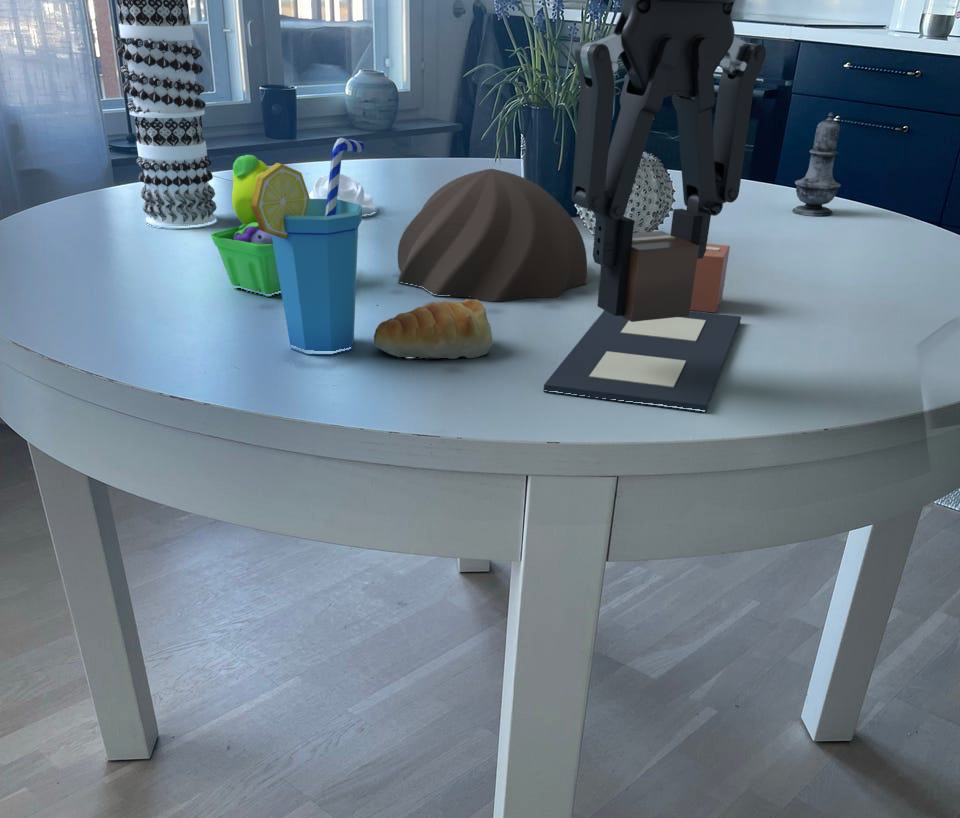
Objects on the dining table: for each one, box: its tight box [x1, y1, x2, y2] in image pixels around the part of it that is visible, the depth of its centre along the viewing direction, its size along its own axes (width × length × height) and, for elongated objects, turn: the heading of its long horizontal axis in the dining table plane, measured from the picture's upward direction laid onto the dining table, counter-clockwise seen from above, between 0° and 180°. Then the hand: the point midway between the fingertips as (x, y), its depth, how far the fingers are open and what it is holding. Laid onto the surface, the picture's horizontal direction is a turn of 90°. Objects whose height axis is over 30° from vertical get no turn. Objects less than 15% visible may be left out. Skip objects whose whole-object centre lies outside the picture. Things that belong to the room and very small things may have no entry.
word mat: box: [543, 310, 742, 414], centre depth 83 cm, size 24×12×1 cm, turn 162°
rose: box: [308, 173, 379, 218], centre depth 129 cm, size 10×4×10 cm
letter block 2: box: [690, 243, 731, 314], centre depth 95 cm, size 5×5×5 cm
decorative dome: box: [397, 168, 588, 303], centre depth 101 cm, size 19×20×10 cm
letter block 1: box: [621, 230, 699, 322], centre depth 75 cm, size 5×5×5 cm
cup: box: [251, 137, 365, 356], centre depth 80 cm, size 14×8×15 cm, turn 158°
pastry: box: [373, 298, 494, 360], centre depth 82 cm, size 9×7×4 cm
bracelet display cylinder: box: [114, 0, 218, 230], centre depth 116 cm, size 9×9×25 cm
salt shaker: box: [791, 111, 841, 217], centre depth 133 cm, size 6×6×12 cm
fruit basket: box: [210, 154, 282, 298], centre depth 97 cm, size 11×9×11 cm
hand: (644, 306), depth 76 cm, fingers closed on letter block 1, 5 cm apart
